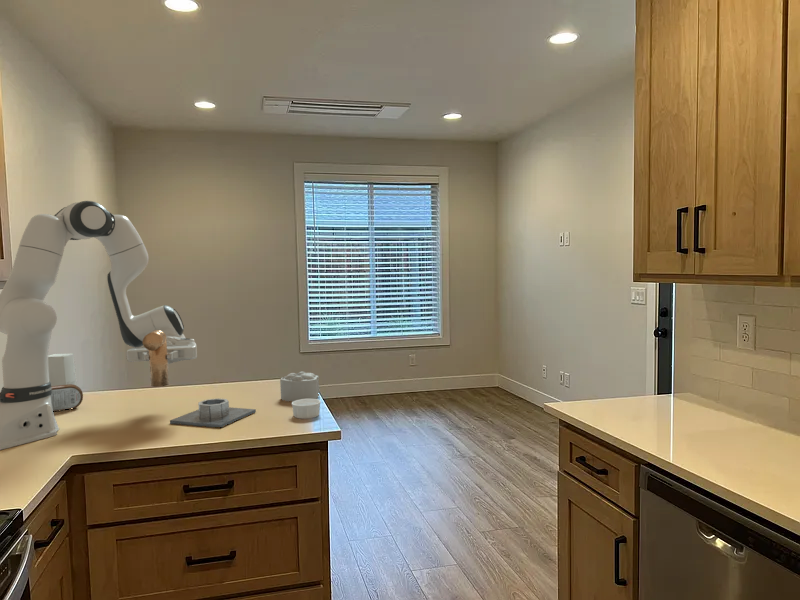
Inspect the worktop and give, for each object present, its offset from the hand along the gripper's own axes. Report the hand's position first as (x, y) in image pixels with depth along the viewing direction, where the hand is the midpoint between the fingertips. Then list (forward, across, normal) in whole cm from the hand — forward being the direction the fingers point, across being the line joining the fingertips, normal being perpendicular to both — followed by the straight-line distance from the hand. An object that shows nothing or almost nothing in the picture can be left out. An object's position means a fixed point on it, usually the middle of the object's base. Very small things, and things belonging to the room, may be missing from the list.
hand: (157, 357), depth 174 cm
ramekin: (+2, +43, +21) cm, 48 cm away
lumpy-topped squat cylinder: (-22, +41, +21) cm, 51 cm away
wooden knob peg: (+1, 0, +8) cm, 9 cm away
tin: (-26, -38, +20) cm, 50 cm away
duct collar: (-3, +15, +20) cm, 25 cm away
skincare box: (-48, -44, +21) cm, 69 cm away
